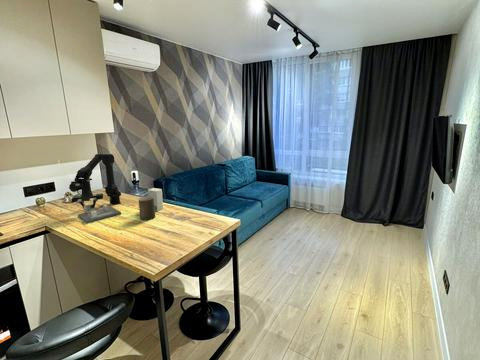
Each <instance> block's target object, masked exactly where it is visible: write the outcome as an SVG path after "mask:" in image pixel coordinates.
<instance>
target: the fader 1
mask: <svg viewBox="0 0 480 360" xmlns="http://www.w3.org/2000/svg"><path fill="white" fill-rule="evenodd" d="M91 216H92V217H93V218H94V217H97V213H96V211H92V212H91Z"/></svg>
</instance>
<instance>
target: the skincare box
mask: <svg viewBox="0 0 480 360" xmlns="http://www.w3.org/2000/svg"><path fill="white" fill-rule="evenodd" d="M148 196H149V197H153V198H154V207H155V212H160V211H162V210H163V209H164V205H163V203H164V202H163V189H162V188H156V187H152V188H149V189H147V197H148Z"/></svg>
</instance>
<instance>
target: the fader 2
mask: <svg viewBox="0 0 480 360" xmlns="http://www.w3.org/2000/svg"><path fill="white" fill-rule="evenodd" d="M108 207H109V205H107V204H104V205H102V208H103V210H104V211H108Z"/></svg>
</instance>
